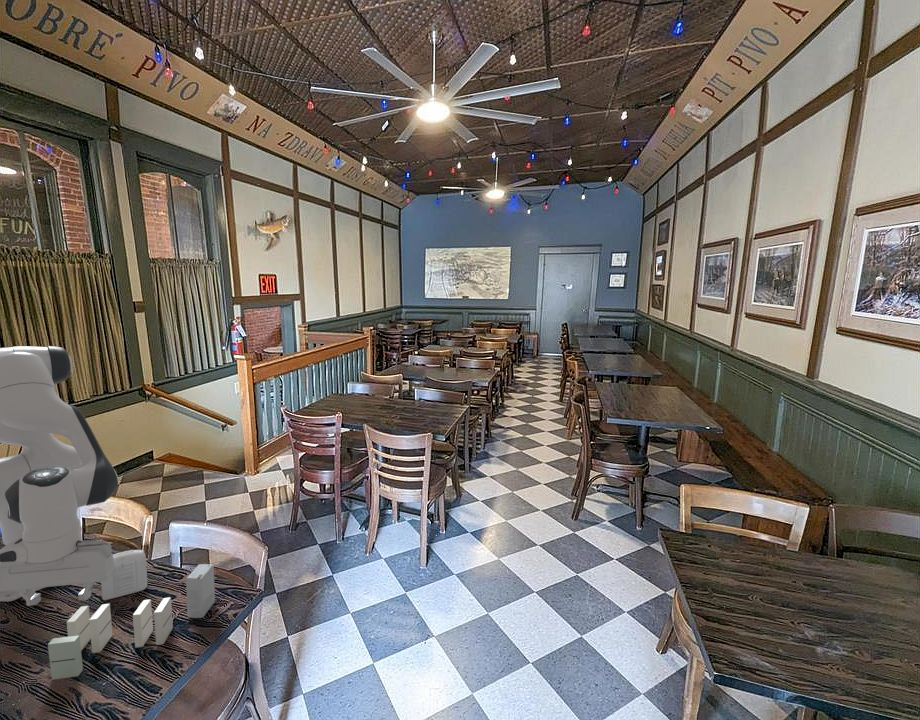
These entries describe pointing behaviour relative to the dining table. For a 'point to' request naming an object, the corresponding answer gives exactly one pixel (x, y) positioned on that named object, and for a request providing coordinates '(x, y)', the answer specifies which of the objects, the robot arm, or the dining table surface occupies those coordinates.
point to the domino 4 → (163, 621)
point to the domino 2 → (100, 628)
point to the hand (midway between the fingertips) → (59, 600)
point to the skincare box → (200, 590)
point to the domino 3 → (142, 623)
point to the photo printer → (126, 575)
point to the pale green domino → (65, 657)
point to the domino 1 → (80, 625)
